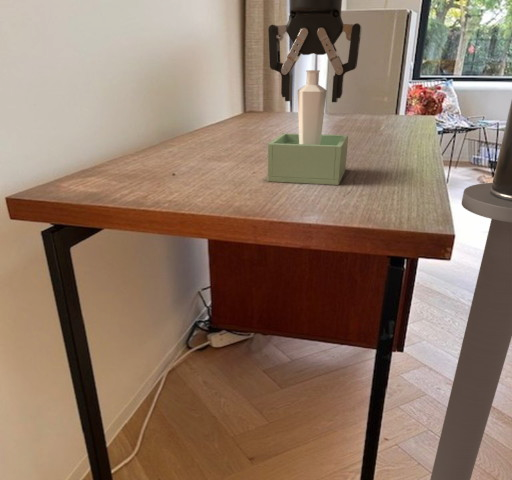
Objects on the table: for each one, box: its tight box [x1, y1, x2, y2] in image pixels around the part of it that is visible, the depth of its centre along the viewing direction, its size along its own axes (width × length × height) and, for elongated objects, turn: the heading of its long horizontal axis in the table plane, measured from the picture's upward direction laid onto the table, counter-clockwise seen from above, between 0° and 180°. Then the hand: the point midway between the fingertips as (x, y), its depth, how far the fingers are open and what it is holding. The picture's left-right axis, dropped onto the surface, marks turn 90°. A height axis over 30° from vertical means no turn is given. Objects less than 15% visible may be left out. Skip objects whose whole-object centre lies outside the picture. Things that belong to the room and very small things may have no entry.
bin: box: [266, 132, 349, 186], centre depth 84 cm, size 12×12×6 cm
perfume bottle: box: [297, 69, 328, 145], centre depth 81 cm, size 5×4×15 cm
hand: (311, 101), depth 80 cm, fingers open, 7 cm apart
